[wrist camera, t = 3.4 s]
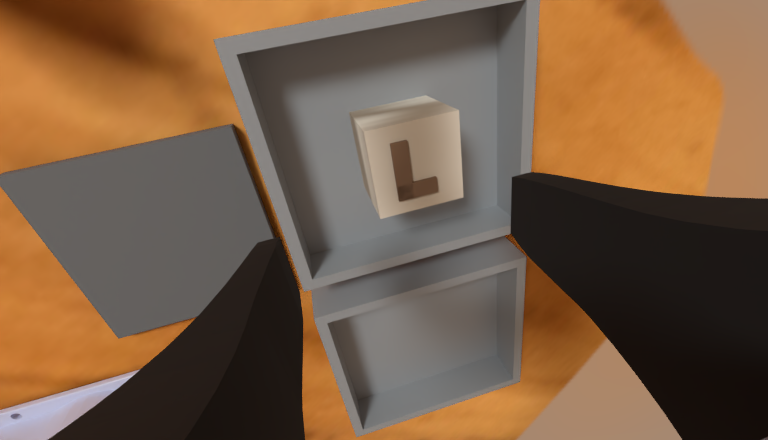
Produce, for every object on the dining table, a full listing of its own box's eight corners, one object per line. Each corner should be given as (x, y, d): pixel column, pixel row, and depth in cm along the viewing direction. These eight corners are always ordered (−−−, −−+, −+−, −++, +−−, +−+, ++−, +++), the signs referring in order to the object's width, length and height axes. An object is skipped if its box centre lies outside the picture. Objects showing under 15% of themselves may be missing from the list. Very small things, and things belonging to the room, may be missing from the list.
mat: (122, 330, 20) (118, 338, 20) (3, 172, 16) (-6, 177, 15) (292, 283, 22) (293, 289, 21) (232, 123, 17) (231, 126, 16)
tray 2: (350, 400, 28) (356, 437, 25) (311, 285, 22) (313, 318, 20) (500, 351, 30) (520, 381, 27) (500, 232, 24) (526, 257, 21)
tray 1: (302, 260, 21) (304, 291, 19) (226, 38, 15) (213, 39, 13) (501, 206, 23) (528, 229, 20) (502, -13, 17) (541, -21, 14)
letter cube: (364, 185, 19) (381, 220, 16) (348, 112, 17) (364, 132, 14) (433, 168, 20) (464, 198, 16) (426, 95, 18) (460, 110, 14)
